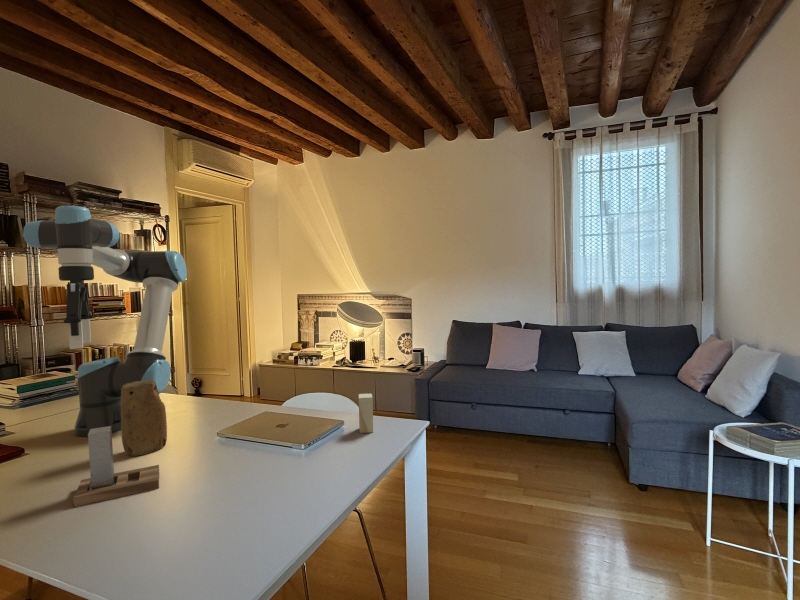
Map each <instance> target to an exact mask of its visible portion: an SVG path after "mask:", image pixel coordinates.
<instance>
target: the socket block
mask: <svg viewBox="0 0 800 600" xmlns="http://www.w3.org/2000/svg"><path fill="white" fill-rule="evenodd" d="M114 482H115V485H113V486H109V487H104V488H99V489H94V490H91V477H89V478H83V479H81V480H80V482H79V484H78V486H77V489H76V491H75V493H74V496H73V506H74V507H73V508H75V507H79V506H83V505H89V504H92V503H97V502H101V501H106V500H110V499H115V498H120V497H124V496H130V495H134V494H138V493H142V492H148V491H152V490H157V489H159V488H160V465H159V464H156V465H150V466H145V467H139V468H135V469H131V470H129V469H128V470H124V471H120V472H114Z"/></svg>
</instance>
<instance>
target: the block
mask: <svg viewBox="0 0 800 600" xmlns="http://www.w3.org/2000/svg"><path fill="white" fill-rule="evenodd" d="M166 411H167V410H166V405H165V403H164V402H163V401H162V400H161V397H160V394H159V392H158V389H157V385H156V382H155V381H153V380H144V381H136V382H132V383H127V384H124V385H123V386H122V388H121V430H120V431H121V441H122V447H123V450H124V453H125V454H126V455H127V456H129V457H131V456H137V457H138V456H143V455H148V454H150V453H152V452H156V451H158V450H162V449H163V448H164V447H165V446H166V444H167V441H168V425H167V412H166Z"/></svg>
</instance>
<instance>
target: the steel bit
mask: <svg viewBox="0 0 800 600" xmlns="http://www.w3.org/2000/svg"><path fill="white" fill-rule="evenodd" d="M87 439H88V440H87V441H88V457H89V458H88V459H89V473H90V474H89V476H90V478H91V490H94V489H99V488H104V487H109V486H113V485H115V482H114V473H115V468H114V465H115V464H114V451H113V450H114V449H113V432H112V431H111V426H107V427H101V428H94V429H90V431H89V433H88V436H87Z"/></svg>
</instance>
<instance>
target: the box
mask: <svg viewBox="0 0 800 600" xmlns="http://www.w3.org/2000/svg"><path fill="white" fill-rule="evenodd" d="M373 406H374V403H373V394H372V393H359V394H358V419H359V420H358V421H359V423H358V424H359V434H367V433H374V416H373V415H374V410H373V409H374V408H373Z"/></svg>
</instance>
